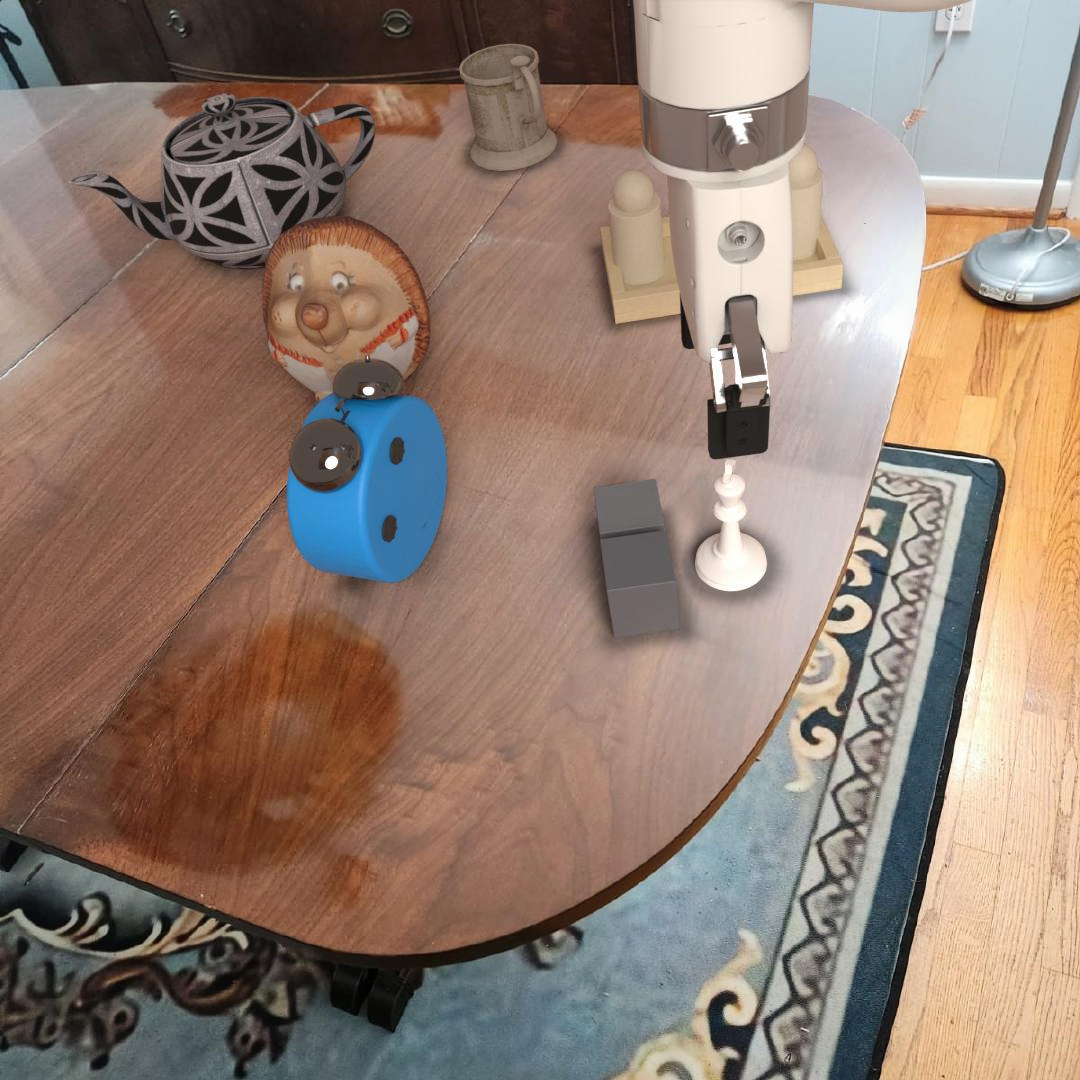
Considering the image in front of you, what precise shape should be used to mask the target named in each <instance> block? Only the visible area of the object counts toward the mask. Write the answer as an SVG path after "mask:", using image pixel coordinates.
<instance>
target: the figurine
mask: <svg viewBox="0 0 1080 1080" xmlns="http://www.w3.org/2000/svg"><path fill="white" fill-rule="evenodd" d="M261 295H262V296H261V297H262V298H261V299H262V300H261V304H262V306H261V307H262V319H263V323H264V327H265V331H266V335H267V346H268V348H269V351H270V355H271V357H272V358H273V359H274V361H275V362H276V363H279V365H280V367H281V369H282V370H283V371H284V372H286V373H287V374H288V375H289V376H290V377H291V378H292V379H294V380H295V381H297V382H298V383H299V384H301V385H302V386H304V387H305V388H307V389H308V390H309V391H311V392H312V393H313V394H314V400H315V401H316V402H317V403H318V402H320V401H321V400H322V399H323V398H324V397H326V396H327V395H329V394H331V393H333V380H334V377H335V375H336V373H337V372H338V371H339V370H340V369H341V368H342V367H343V366H344V365H346V364H347V363H349V362H351V361H354V360H357V359H363V358H365V355H370V358H375V359H380V360H383V361H386V362H388V363H390V364H392V365H393V366H395V367H396V368H397V369H398V370H399V371H400V373H401V374H402V376H403V378H404V381H405V382H406V380H407V379H408V377H410V376H411V375H412V374H413V373H414V372H415V371H416V370H417V369H418V367H419V365H421V363H422V362H423V360H424V358H425V355H426V353H427V350H428V347H429V344H430V340H431V313H430V308H429V303H428V300H427V296H426V293H425V289H424V287H423V284H422V282H421V279H420V276H419V274H418V271H417V269H416V267H415V266H414V265H413V263H412V262H411V260H410V258H409V257H408V255H407V254H406V252H405V251H404V250H403V249H402V248H401V247H400V245H399V243H397V242H396V241H394V240H393V239H392V238H391V237H390V236H388V235H387V234H385V233H384V232H383V231H381V230H379V229H378V228H376V227H375V226H374V225H371V224H370V223H368V222H366V221H363V220H360V219H357V218H355V217H352V216H350V215H349V216H348V215H338V216H327V217H321V218H314V219H310V220H307V221H304V222H301V223H299V224H296V225H295V226H293V227H292V228H290V229H288V230H287V231H285V232H283V233H282V234H281V235H280V236H279V237H278V239H277V240H276V241H275V242H274V244H273V246H272V248H271V250H270V252H269V255H268V257H267V261H266V264H265V266H264V272H263V277H262V284H261Z"/></svg>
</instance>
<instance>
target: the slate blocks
mask: <svg viewBox="0 0 1080 1080" xmlns="http://www.w3.org/2000/svg"><path fill="white" fill-rule="evenodd" d="M593 493H594V502H595V509H596V516H597V524H598V526H597V527H598V532H599V542H600V550H601V551H600V552H601V558H602V565H603V572H604V573H603V574H604V582H605V589H606V596H607V602H608V608H609V614H610V621H611V627H612V631H613V638H614V639H618V638H624V637H625V638H626V637H633V636H641V635H647V634H649V635H650V634H655V633H662V632H671V631H676V630H677V631H678V630H680V616H679V615H680V614H679V604H678V593H677V592H678V589H677V579H676V575H675V570H674V569H675V568H674V563H673V558H672V553H671V548H670V547H671V546H670V543H669V537H668V531H667V530H666V528H665V527H666V526H665V520H664V515H663V509H662V503H661V499H660V494H659V489H658V483H657V478H650V479H644V480H643V479H642V480H636V481H630V482H623V483H615V484H609V485H602V486H595V487H593Z"/></svg>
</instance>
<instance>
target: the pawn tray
mask: <svg viewBox="0 0 1080 1080" xmlns="http://www.w3.org/2000/svg"><path fill="white" fill-rule="evenodd" d="M788 164H789V172H790V183H791V195H792V213H793V297H795V296H801V295H808V294H814V293H821V292H828V291H833V290H834V291H835V290H840V289H842V288H843V277H844V267H845V266H844V265H845V264H844V262H843V260H842V258H841V255H840V253H839V251H838V248H837V247H836V244H835V242H834V240H833V237H832V236H831V234H830V231H829V229H828V227H827V224H826V223H825V220H824V218H823V216H822V204H823V189H824V172H823V170H822V169H821V168H820V167H819V159H818V155H817V153H816V151H815V149H813V148H812V146H810V145H809V144H807V143H804V145H803V147H802V149H801V151H800V152H799V153H798V154H797V155H796V156H795V157H794V158H793V159H792V160H791V161H789V162H788ZM611 190H612V191H611V195H612V196H611V197H612V198H611V199H610V200H609V201H608V204H607V212H608V213H607V214H608V222H609V225H607V226H601V227H599V231H600V241H601V249H602V254H603V255H602V256H603V261H604V266H605V271H606V277H607V283H608V289H609V295H610V300H611V306H612V313H613V317H614V323H615V324H616V325H618V324H624V323H630V322H637V321H642V320H648V319H657V318H662V317H670V316H675V315H680V291H679V287H678V282H677V278H676V273H675V267H674V261H673V254H672V247H671V237H670V225H669V215H668V216H662V203H661V197H660V196H659V195H658V193H656V192H655V189H654V184H653V181H652V180H651V178H650V177H649V176H648V175H647V174H646V173H645V172H643V171H640V170H635V169H631V170H627V171H625V172H623V173H621V174H620V175H619V176H618V177H616V179H615V181H614V183H613V185H612V189H611Z"/></svg>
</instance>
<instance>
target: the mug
mask: <svg viewBox="0 0 1080 1080" xmlns="http://www.w3.org/2000/svg"><path fill="white" fill-rule="evenodd" d="M539 63H540V58H539V55H538V51H537V50H536V49H534V48H533V47H532V46H529V45H525V44H518V43H504V44H503V43H502V44H498V45H497V44H496V45H493V46H488V47H485V48H481V49H480V50H477V51H475V52H473V53H471V54H470V55H468V56H466V58H464V59H463V60H462V61H461V63H460V65H459V67H458V69H459V75H460V78H461V80H463V84H464V89H465V94H466V98H467V99H466V100H467V103H468V104H467V105H468V108H469V112H470V118H471V123H472V128H473V133H474V143H473V145H472V147H471V150H470V151H469V152H470V158H471V161H472V162H473V163H474V164H475V165H476V166H478V167H480V168H482V169H484V170H489V171H494V172H495V171H496V172H507V171H515V170H520V169H525V168H528V167H530V166H533V165H536V164H538V163H540V162H542V161H544V160H545V159H546V158H548V157H550V155H551V154H552V153H553V152H554V151H555V150H556V147H557V145H558V139H557V135H556V133H555V132H553V130H551V129H550V128H549V126H548V122H547V119H546V113H545V106H544V100H543V93H542V86H541V80H540V79H541V78H540V73H539V66H538V65H539Z"/></svg>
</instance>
